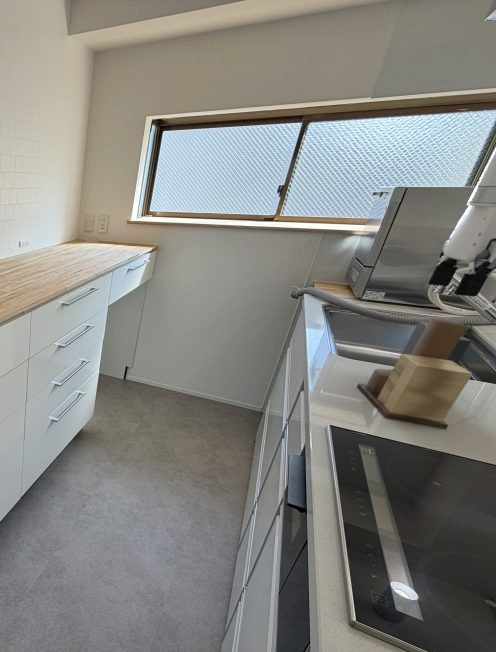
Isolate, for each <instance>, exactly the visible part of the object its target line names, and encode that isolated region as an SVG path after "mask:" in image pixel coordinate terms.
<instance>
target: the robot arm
mask: <svg viewBox="0 0 496 652" xmlns="http://www.w3.org/2000/svg"><path fill="white" fill-rule="evenodd" d="M466 206H467V208H466V209H465V211H464V213H463V215H462V216H461V217H460V219H459V221H458V222H457V224H456V226H455V228H454V230H453V231H452V233H451V235H450V237H449V238H448V240H446V241H445V242H444V243H443V246H442V251H441V252H440V254H439V259H438V260H437V262H436V266H435V268H434V270H433V272H432V274H431V276H430V278H429V280H428V282H427V284H428V285H430V286H437V287H438V286H439V287H448V286H449V285H450V283H451V281H452V280H453V278H454V275H455V274H456V272H457V270H458V269H459V267H458V264H460V262H465V263H468V273H464V274H463V276H462V278H461V279H460V281H459V283H458V285H457V287H456V289H455V291H454V295H456V296H465V297H477V296H478V295H479V293H480V292H481V290H482V288H483V287H484V284H485V282H486V281H487V279H488V277H489V276H491V275H492V274H493V272H494V270H496V147H495V148H494V150H493V152H492V154H491V156H490V158H489V159H488V162H487V164H486V166H485V168H484V170H483V172H482V174H481V176H480V178H479V179H478V182H477V184H476V186H475V187H474V190H473V192H472V193H471V196H470V198H469V200H467V203H466Z"/></svg>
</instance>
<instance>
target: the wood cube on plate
mask: <svg viewBox="0 0 496 652" xmlns="http://www.w3.org/2000/svg"><path fill="white" fill-rule="evenodd" d="M392 369H393V370H392ZM392 369H391V370H392V372H391V374H390V376H389V378H388V379H387V381H386V383H385V385H384V387H383V389H382V391H381V392H380V394H378V393H373V392H371V391H370V389H369V388H368V386H367V384H365V383H360V382H359V383H358V384H357V385H356V388H357V389H358V390H359V391H360V392H361V393H362V394H363V395H364V397H366V398H367V400H368V401H369V402H370V403H371V404H372V405H373V407H375V408H376V409H377V411H378V412H379V413H380V414H381V415H382V416H383V417H384V418H385V419H389V420H395V421H399V422H400V421H401V422H407V423H411V424H417V425H422V426H428V427H432V428H433V427H434V428H438V429H443V430H447V429H448V427H449V423H447V422H446V421H445V418H446V416H447V415H448V413H449V412H450V411H451V409H452V407H453V406H454V404H455V402H456V401H457V400H458V398H459V396H460V395H461V392H463V390H464V389H465V387H466V385H467V383H468V382H469V381H470V379H471V378H472V376H473V373H472V372H471V371H469V370H467V369H466V368H465V367H463V366H461V365H459V363H458V364H456V363H455V362H453V361H450V360H443V359H436V358H429V357H422V356H415V355H408V354H402V353H401V354H400V355H399V357H398V359H397V361H396V363H395V365H394V367H393V368H392Z"/></svg>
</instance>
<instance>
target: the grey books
mask: <svg viewBox="0 0 496 652" xmlns="http://www.w3.org/2000/svg"><path fill="white" fill-rule="evenodd" d="M427 324H428V321H418V322H417V324H416V326H415V328H414V330H413V332H412V334H411V335H410V337H409V339H408V341H407V343H406V344H405V346H404V348H403V350H402V352H401V354H408V355H411V353H412V351H413V350H414V348H415V346H416V344H417V342H418V341H419V339H420V337H421V335H422V333H423V331H424V330H425V328H426V326H427ZM472 342H473V341H472V340H471V339H469V338H466V337H464V336H463V335H462V336H461V338H460V339H459V341H458V343H457V344H456V346H455V348H454V349H453V351H452V352H451V354H450V356H449V357H448V359H447V360H450V361H453V362H455V363H456V364H458V365H459V363H460V362H461V360H462V358H463V357H464V355H465V353H466V352H467V350H468V348H469V347H470V346H471V343H472Z"/></svg>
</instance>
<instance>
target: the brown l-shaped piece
mask: <svg viewBox="0 0 496 652" xmlns="http://www.w3.org/2000/svg"><path fill="white" fill-rule="evenodd" d="M427 323H428V324H427V326H426V328H425V330H424V331H423V333H422V335H421V337H420V339H419V341H418V342H417V344H416V346H415V348H414V350H413V351H412V353H411V355H415V356H422V357H429V358H436V359H443V360H447V359H448V357H449V356H450V354H451V352H452V351H453V349H454V348H455V346H456V344H457V343H458V341H459V339H460V338H461V336H463V335H464V333H465V331H466V329H467V328H468V327H467V326H468V325H466V324H465V323H463V322H461V321H460V320H457V319H450V318H444V317H443V318H442V317H438V316H437V317H436V316H431V317H430V319H429V321H427ZM392 370H393V368H392V369H387V368H386V369H385V368H375V369H374V370H373V372H372V374H371V376H370V377H369V380H368V382H367V384H366V385H367V386H368V388H369V389H370V391H371V392H373V393H378V394H380V392H381V391H382V389H383V387H384V385H385V383H386V381H387V379H388V378H389V376H390V374H391V372H392Z"/></svg>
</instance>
